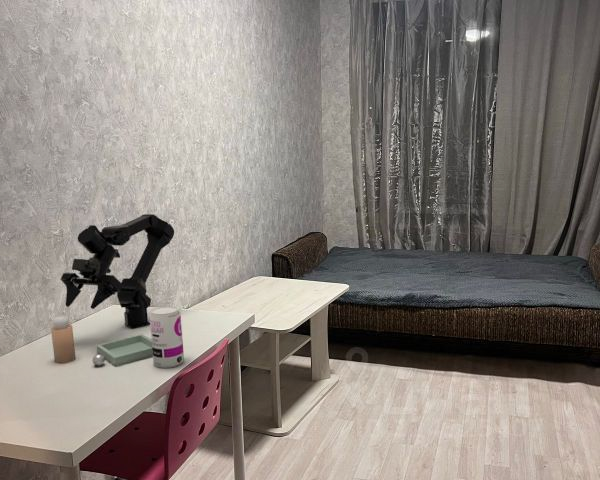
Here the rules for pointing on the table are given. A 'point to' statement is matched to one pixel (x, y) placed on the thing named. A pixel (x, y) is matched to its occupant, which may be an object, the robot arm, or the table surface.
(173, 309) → the supplement can
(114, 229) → the robot arm
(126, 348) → the tray
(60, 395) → the table surface
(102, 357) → the ball
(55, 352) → the shaker
